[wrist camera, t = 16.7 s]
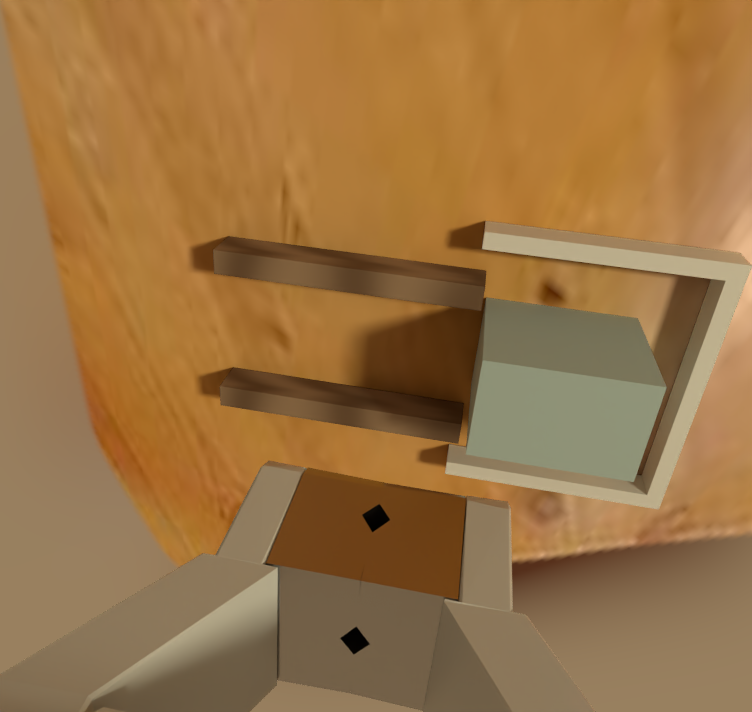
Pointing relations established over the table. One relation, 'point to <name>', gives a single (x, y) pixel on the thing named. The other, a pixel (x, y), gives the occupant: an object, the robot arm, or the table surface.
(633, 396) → the block
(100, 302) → the table surface
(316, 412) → the chute
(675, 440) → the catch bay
